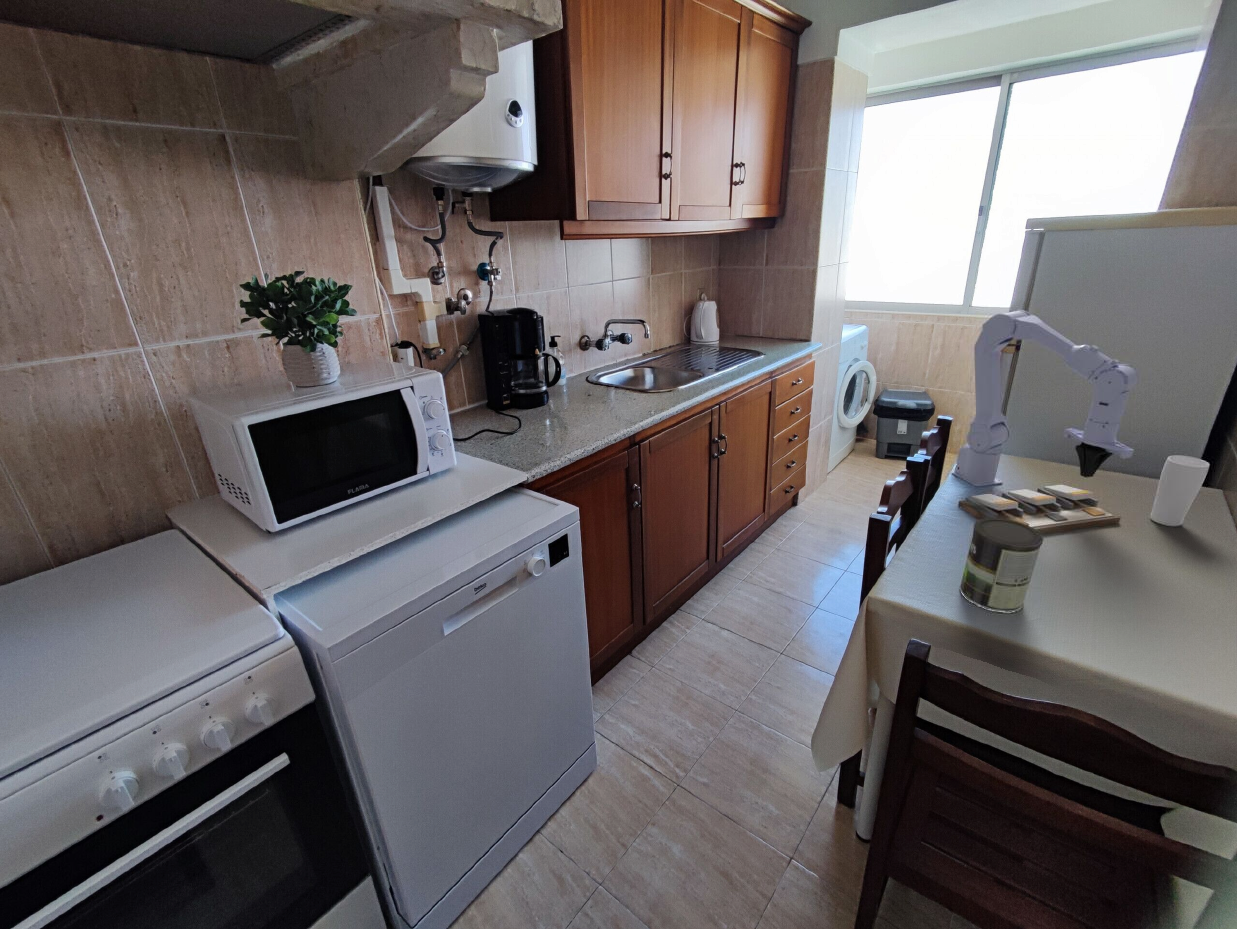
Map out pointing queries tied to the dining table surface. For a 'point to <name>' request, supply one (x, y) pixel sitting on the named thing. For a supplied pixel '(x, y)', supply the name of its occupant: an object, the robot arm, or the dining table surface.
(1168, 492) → the drinking glass
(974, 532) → the coffee can
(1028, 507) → the switch board
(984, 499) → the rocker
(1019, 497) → the rocker middle
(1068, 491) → the rocker
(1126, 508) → the dining table surface
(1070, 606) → the dining table surface
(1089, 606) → the dining table surface
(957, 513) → the dining table surface
